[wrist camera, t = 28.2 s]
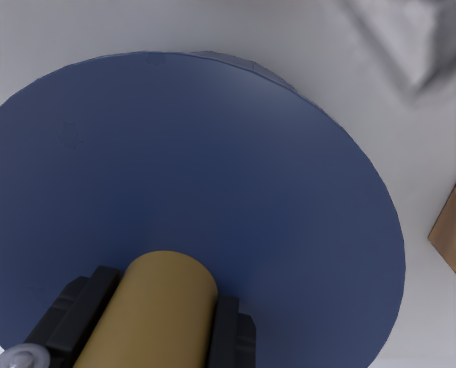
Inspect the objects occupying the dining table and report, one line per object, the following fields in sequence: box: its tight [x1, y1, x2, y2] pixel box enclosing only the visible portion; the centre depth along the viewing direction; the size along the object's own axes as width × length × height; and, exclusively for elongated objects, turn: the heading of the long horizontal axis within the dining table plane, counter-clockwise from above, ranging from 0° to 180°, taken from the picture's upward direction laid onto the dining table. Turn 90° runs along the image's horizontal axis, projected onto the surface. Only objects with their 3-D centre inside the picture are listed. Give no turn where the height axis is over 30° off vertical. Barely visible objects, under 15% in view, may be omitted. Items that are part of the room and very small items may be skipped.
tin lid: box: [0, 51, 406, 368], centre depth 11 cm, size 17×17×7 cm
